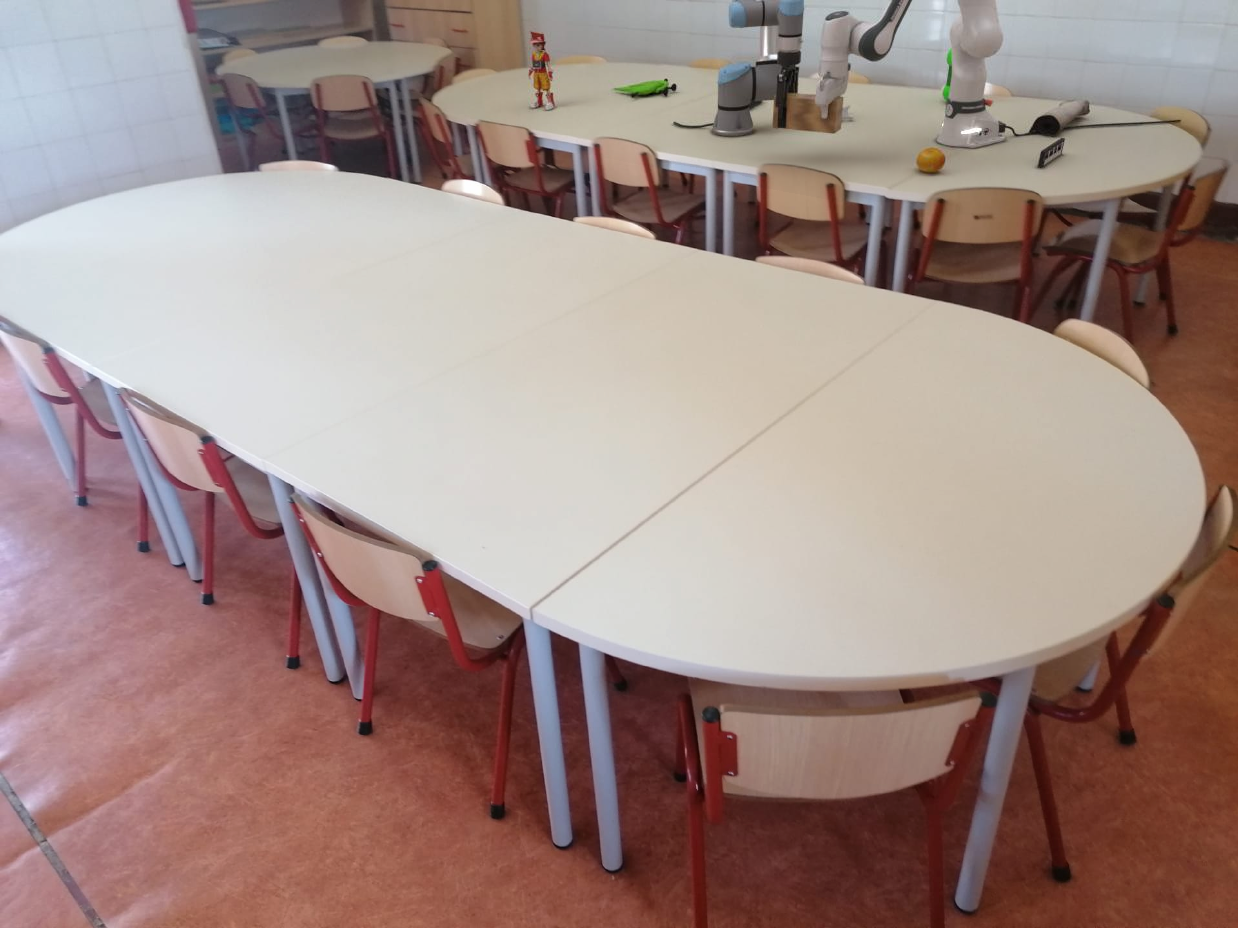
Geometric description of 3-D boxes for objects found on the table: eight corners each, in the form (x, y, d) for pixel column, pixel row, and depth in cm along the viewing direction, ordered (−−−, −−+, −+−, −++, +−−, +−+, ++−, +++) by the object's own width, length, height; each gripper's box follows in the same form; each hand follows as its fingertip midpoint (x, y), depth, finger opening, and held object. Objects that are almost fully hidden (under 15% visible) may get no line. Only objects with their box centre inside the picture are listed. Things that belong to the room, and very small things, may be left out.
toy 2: (686, 85, 398) (631, 84, 414) (685, 72, 395) (629, 72, 411) (651, 104, 381) (596, 103, 397) (650, 92, 378) (594, 91, 394)
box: (772, 128, 300) (773, 96, 294) (779, 123, 304) (780, 92, 299) (834, 133, 291) (837, 101, 285) (840, 129, 295) (843, 96, 289)
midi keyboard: (1041, 167, 283) (1045, 151, 280) (1037, 167, 283) (1040, 151, 280) (1062, 154, 293) (1065, 138, 290) (1057, 153, 294) (1061, 137, 291)
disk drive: (747, 111, 360) (763, 102, 370) (747, 104, 359) (763, 95, 369) (724, 109, 365) (740, 100, 375) (724, 101, 363) (740, 93, 373)
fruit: (910, 163, 282) (927, 140, 279) (912, 165, 290) (928, 143, 287) (933, 178, 281) (950, 155, 278) (933, 180, 289) (950, 157, 286)
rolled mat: (1057, 104, 331) (1081, 87, 323) (1070, 125, 332) (1095, 108, 324) (1024, 126, 314) (1049, 109, 306) (1039, 148, 314) (1064, 131, 306)
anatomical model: (816, 90, 346) (842, 83, 346) (819, 117, 352) (844, 110, 352) (827, 99, 334) (853, 92, 333) (830, 127, 340) (856, 120, 339)
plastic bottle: (973, 101, 354) (984, 32, 339) (955, 106, 349) (966, 36, 335) (952, 97, 361) (962, 29, 346) (934, 102, 356) (944, 33, 342)
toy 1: (525, 109, 381) (517, 32, 364) (534, 104, 388) (527, 28, 371) (550, 110, 377) (543, 32, 360) (559, 105, 384) (553, 28, 367)
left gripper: (789, 57, 279) (785, 133, 292) (811, 45, 292) (806, 119, 305) (766, 55, 282) (763, 131, 295) (789, 44, 295) (785, 117, 309)
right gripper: (831, 76, 275) (827, 123, 283) (853, 63, 289) (848, 108, 297) (811, 75, 278) (808, 121, 285) (834, 62, 292) (830, 106, 300)
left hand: (785, 125), depth 300 cm, fingers closed on box, 6 cm apart
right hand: (829, 114), depth 291 cm, fingers open, 7 cm apart
